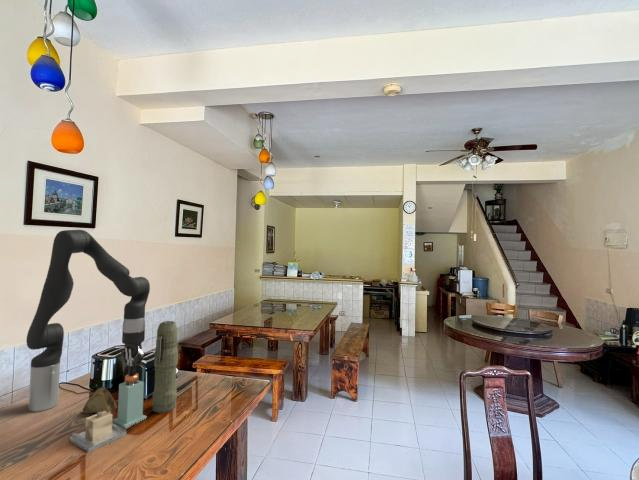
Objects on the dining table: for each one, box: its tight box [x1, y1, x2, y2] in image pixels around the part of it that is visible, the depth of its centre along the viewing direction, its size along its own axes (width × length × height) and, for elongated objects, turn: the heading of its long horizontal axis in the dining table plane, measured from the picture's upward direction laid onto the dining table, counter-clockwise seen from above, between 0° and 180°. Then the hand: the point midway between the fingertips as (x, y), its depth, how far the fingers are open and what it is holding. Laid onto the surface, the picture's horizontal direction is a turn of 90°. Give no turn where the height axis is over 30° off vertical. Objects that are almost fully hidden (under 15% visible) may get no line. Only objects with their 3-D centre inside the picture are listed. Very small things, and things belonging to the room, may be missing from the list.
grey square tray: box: [69, 422, 127, 453], centre depth 111 cm, size 12×12×2 cm
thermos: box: [151, 320, 179, 414], centre depth 134 cm, size 9×12×35 cm
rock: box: [82, 387, 118, 414], centre depth 130 cm, size 11×9×10 cm
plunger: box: [124, 372, 140, 386], centre depth 123 cm, size 4×4×13 cm
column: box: [112, 379, 147, 429], centre depth 123 cm, size 8×8×14 cm
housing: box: [85, 411, 113, 440], centre depth 112 cm, size 5×6×7 cm
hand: (131, 375), depth 123 cm, fingers closed
